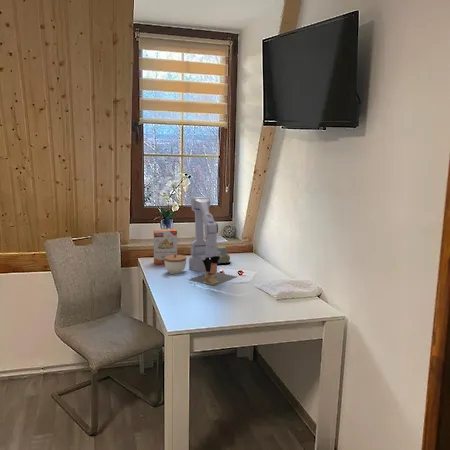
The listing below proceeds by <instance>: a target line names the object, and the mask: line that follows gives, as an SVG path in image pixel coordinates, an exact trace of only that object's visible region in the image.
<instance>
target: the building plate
mask: <svg viewBox="0 0 450 450" xmlns="http://www.w3.org/2000/svg"><path fill="white" fill-rule="evenodd" d="M215 273H217V282H215V283H212V284H211V283H207V282H205V274H206V273H204V274H201V275H198V276H195V277H192V278H190V279H188V281H191V282H194V283H198V284H203V285H206V286H210V287H216V286H218V285H221V284H223V283H227V282H229V281H231V280H233V279H235V278H236V279H237V278H238V276H237V275H232V274H227V273H222V272H218V271H217V272H215Z"/></svg>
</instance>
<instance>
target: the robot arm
mask: <svg viewBox="0 0 450 450" xmlns="http://www.w3.org/2000/svg"><path fill="white" fill-rule="evenodd" d="M210 206H211V198H210V196H209V195H208V196H192V197H191V211H192V212H194V220H195V221H194V225H195V227H194V229H195V231H194V232H195V239H194V240H193V241H192V242H191V243H190V257H189V259H188V270H192V271H194V272H205V269H206V271H207V272H210V267H211V263H216V264H217V265H218V264H219V263H218V261H219V259H220V256H218V255H221V251H217V247H218V246H217V244H218V243H217V238H218V237H217V236H218V235H217V234H218V233H219V224H218V223H217V221H215V219H214V216H213V214H212V213H210ZM204 237H205V239H204Z"/></svg>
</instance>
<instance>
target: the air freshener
mask: <svg viewBox="0 0 450 450" xmlns="http://www.w3.org/2000/svg"><path fill="white" fill-rule="evenodd" d="M216 251H221V255H218V256H220V259H219V261H218V263H217V264H220V263H225V264H227V263H228V262H230V261H231V260H230V259H231V256H230V255H229V254H228V253H227V247H226V246H224V245H219V246H217V247H216ZM226 262H227V263H226Z"/></svg>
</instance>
